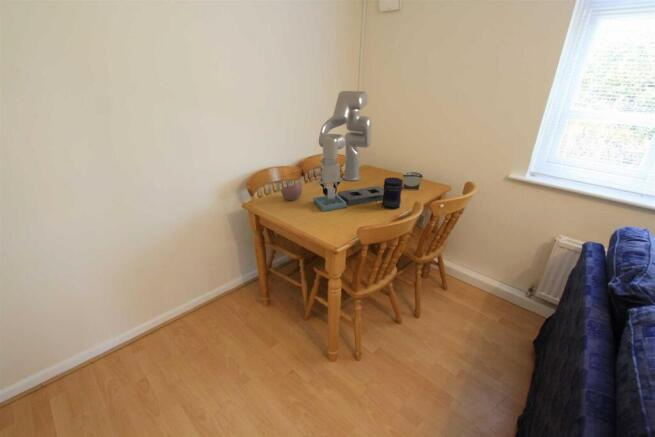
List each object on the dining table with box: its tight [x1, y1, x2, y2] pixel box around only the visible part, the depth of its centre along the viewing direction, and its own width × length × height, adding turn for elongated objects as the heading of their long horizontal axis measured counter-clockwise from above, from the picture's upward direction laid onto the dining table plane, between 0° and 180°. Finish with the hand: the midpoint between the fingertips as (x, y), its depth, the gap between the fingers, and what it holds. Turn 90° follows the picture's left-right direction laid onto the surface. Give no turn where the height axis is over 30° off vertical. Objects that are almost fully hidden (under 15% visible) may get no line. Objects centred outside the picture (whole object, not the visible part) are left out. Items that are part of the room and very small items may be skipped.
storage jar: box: [381, 177, 404, 210], centre depth 165 cm, size 10×10×15 cm
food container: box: [402, 171, 424, 191], centre depth 193 cm, size 12×6×10 cm, turn 84°
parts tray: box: [313, 193, 348, 213], centre depth 168 cm, size 14×14×3 cm
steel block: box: [324, 185, 335, 205], centre depth 166 cm, size 4×4×9 cm
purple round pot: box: [280, 179, 303, 201], centre depth 174 cm, size 12×12×12 cm
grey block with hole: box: [337, 185, 384, 207], centre depth 178 cm, size 14×28×4 cm, turn 113°
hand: (329, 193), depth 166 cm, fingers open, 4 cm apart
